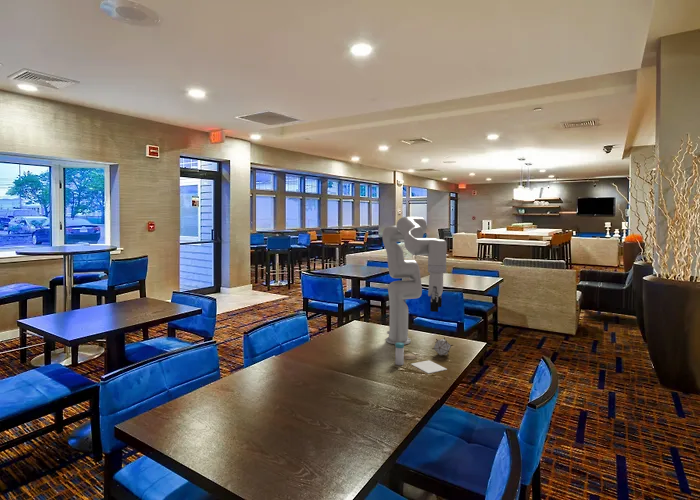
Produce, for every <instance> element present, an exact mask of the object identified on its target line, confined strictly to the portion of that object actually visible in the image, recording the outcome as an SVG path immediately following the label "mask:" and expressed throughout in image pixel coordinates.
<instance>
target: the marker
mask: <svg viewBox="0 0 700 500" xmlns="http://www.w3.org/2000/svg"><path fill="white" fill-rule="evenodd" d="M394 345H395V346H394V347H395V353H394V357H395V362H394V363H395V366H396V365H397V366H403V365H404V364H405V363H404V361H405V359H404V354H405V352H404V350H405V345H404V343H400V342H398V343H395V344H394Z"/></svg>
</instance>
